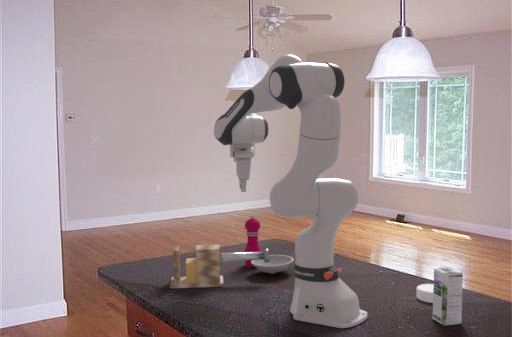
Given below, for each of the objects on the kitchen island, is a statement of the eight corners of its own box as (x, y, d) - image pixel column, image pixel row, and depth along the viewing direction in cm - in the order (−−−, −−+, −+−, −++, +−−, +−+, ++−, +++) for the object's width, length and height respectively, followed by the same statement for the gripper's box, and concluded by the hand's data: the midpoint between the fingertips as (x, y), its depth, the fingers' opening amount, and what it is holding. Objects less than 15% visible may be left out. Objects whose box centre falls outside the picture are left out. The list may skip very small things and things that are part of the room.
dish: (273, 282, 187) (273, 268, 187) (242, 275, 196) (242, 262, 196) (302, 271, 201) (302, 258, 200) (272, 265, 210) (272, 252, 209)
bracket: (222, 278, 193) (222, 243, 192) (223, 286, 183) (222, 250, 182) (172, 279, 192) (171, 245, 191) (169, 288, 182) (168, 251, 181)
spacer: (197, 277, 191) (196, 258, 190) (196, 283, 184) (195, 263, 183) (187, 277, 190) (186, 258, 190) (186, 283, 183) (185, 263, 183)
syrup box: (431, 318, 150) (432, 267, 149) (450, 317, 152) (451, 266, 151) (443, 326, 145) (444, 273, 144) (462, 324, 146) (463, 271, 145)
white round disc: (434, 306, 162) (434, 294, 161) (409, 297, 170) (409, 286, 170) (456, 300, 167) (457, 289, 166) (431, 291, 175) (431, 281, 175)
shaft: (268, 260, 191) (267, 247, 191) (269, 264, 186) (269, 250, 186) (197, 262, 189) (197, 249, 189) (197, 266, 184) (197, 252, 184)
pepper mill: (260, 268, 206) (259, 216, 204) (242, 267, 207) (241, 216, 206) (263, 263, 213) (263, 213, 211) (246, 262, 214) (245, 213, 213)
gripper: (232, 150, 204) (233, 187, 205) (234, 153, 183) (235, 194, 184) (249, 150, 204) (249, 186, 205) (253, 153, 184) (253, 193, 185)
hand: (242, 190), depth 195 cm, fingers open, 8 cm apart
